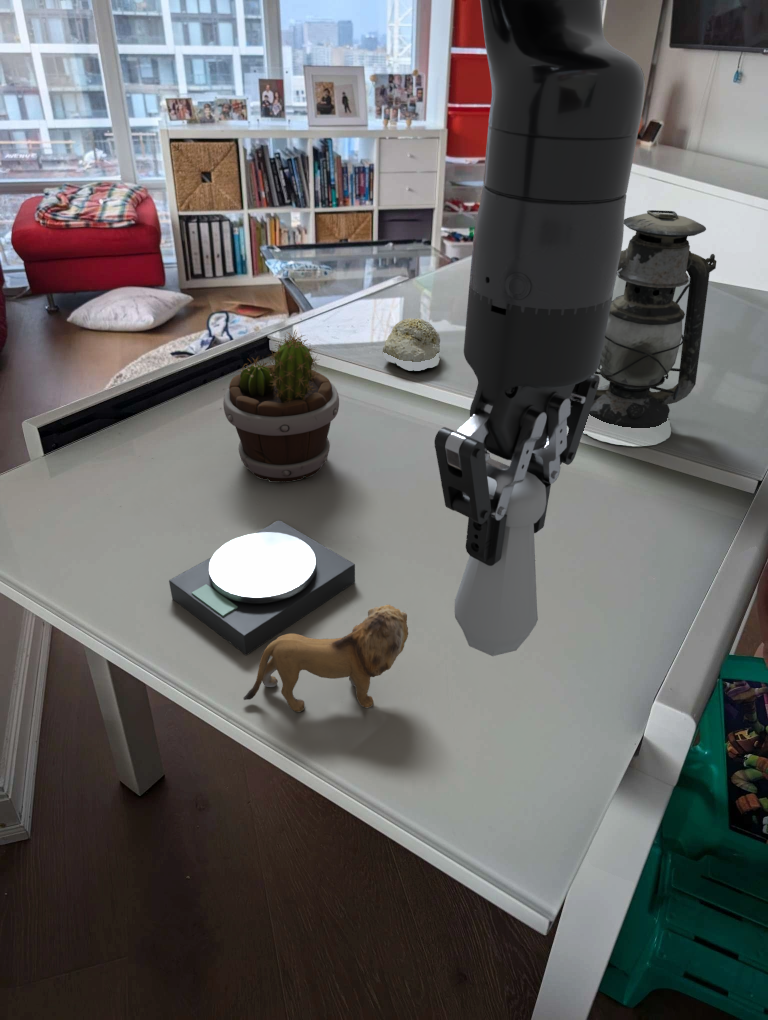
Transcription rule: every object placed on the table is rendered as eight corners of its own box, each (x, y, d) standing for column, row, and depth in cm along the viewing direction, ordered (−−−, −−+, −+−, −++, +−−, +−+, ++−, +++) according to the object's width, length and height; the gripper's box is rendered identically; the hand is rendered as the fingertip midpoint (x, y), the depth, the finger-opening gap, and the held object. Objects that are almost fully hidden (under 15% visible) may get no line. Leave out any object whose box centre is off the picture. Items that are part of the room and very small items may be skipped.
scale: (246, 655, 72) (243, 634, 71) (171, 598, 79) (168, 578, 77) (355, 582, 81) (355, 562, 80) (280, 537, 88) (279, 518, 86)
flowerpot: (211, 455, 103) (193, 312, 92) (310, 428, 110) (305, 293, 99) (255, 506, 93) (241, 353, 82) (362, 473, 100) (362, 327, 89)
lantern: (563, 444, 108) (601, 225, 91) (548, 388, 124) (577, 192, 107) (697, 450, 107) (759, 230, 90) (664, 392, 123) (712, 196, 106)
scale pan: (256, 619, 72) (256, 613, 72) (187, 570, 78) (186, 564, 78) (338, 567, 79) (338, 561, 78) (268, 525, 85) (268, 519, 84)
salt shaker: (512, 677, 51) (538, 516, 43) (437, 644, 53) (450, 486, 46) (545, 627, 55) (574, 473, 48) (474, 598, 57) (492, 448, 50)
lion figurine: (399, 661, 72) (402, 587, 67) (412, 703, 67) (416, 628, 62) (242, 682, 69) (233, 608, 64) (245, 728, 65) (236, 652, 60)
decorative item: (374, 325, 134) (427, 302, 132) (394, 370, 138) (445, 348, 136) (373, 342, 123) (430, 318, 122) (394, 390, 127) (450, 367, 125)
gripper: (553, 242, 46) (519, 480, 56) (398, 292, 38) (388, 565, 47) (668, 268, 42) (610, 521, 52) (525, 332, 33) (486, 622, 43)
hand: (505, 541), depth 49 cm, fingers closed on salt shaker, 4 cm apart
